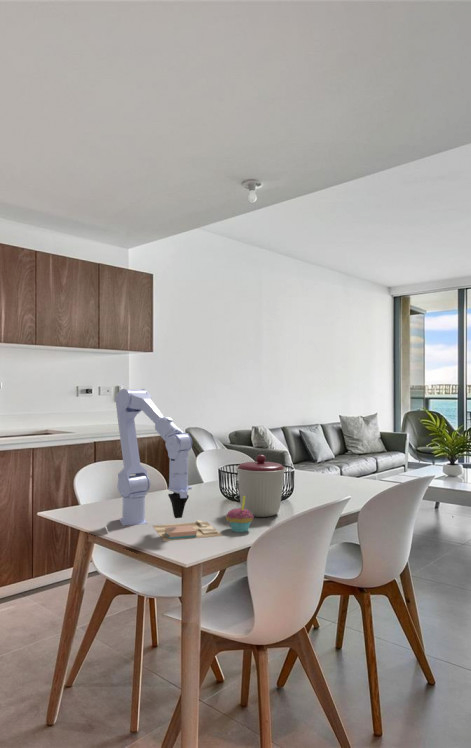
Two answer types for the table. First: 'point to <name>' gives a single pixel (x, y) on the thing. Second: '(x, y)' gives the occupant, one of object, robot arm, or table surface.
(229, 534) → the table surface
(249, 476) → the canister
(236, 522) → the cupcake
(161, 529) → the cork mat
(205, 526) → the wooden turner
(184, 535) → the tile
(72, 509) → the table surface
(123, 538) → the table surface
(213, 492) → the table surface
